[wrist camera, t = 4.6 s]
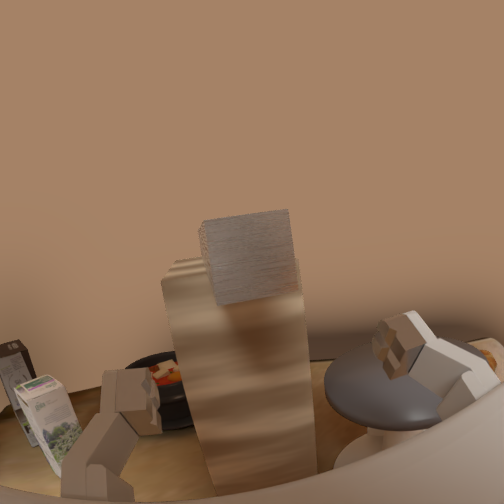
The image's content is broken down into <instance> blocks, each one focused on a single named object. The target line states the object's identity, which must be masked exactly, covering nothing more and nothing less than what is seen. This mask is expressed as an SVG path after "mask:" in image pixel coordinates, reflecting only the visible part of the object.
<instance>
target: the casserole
mask: <svg viewBox="0 0 504 504" xmlns="http://www.w3.org/2000/svg"><path fill="white" fill-rule="evenodd" d="M147 367H148V368H149V370H150V372H151V379H153V380H154V381H155V383H156V385H157V388H158V392H159V398H160V407H159V408H158V410H157V411H158V413H159V414H160V416H161V425H162V430H171V429H178V428H183V427H187V426H190V425H193V424H194V422H193V419H192V416H191V412H190V408H189V405H188V401H187V397H186V394H185V390H184V386H183V382H182V378H181V374H180V370H179V366H178V362H177V358H176V353H175V351H171V352H164V353H159V354H154V355H151V356H148V357H145V358H142V359H140V360H138V361H135V362H134V363H132V364H130V365H129V366H128V367H126V368H125V369H135V368H147Z"/></svg>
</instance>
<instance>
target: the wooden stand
mask: <svg viewBox="0 0 504 504" xmlns="http://www.w3.org/2000/svg"><path fill="white" fill-rule="evenodd" d="M295 264H296V272H297V280H298V288H299V291H296V292H291V293H286V294H281V295H275V296H270V297H265V298H259V299H254V300H248V301H243V302H237V303H231V304H225V305H220V306H217V303H216V300H215V297H214V294H213V291H212V288H211V285H210V281H209V278H208V275H207V272H206V268H205V265H204V262H203V259H202V257H196V258H189V259H183V260H177V261H175V263H174V264H173V265H172V267H171V268H170V269H169V271H168V272H167V273H166V275H165V276H164V278H163V279H162V281H161V286H162V291H163V296H164V302H165V307H166V312H167V317H168V322H169V326H170V331H171V335H172V340H173V345H174V349H175V353H176V358H177V362H178V366H179V370H180V374H181V378H182V382H183V386H184V390H185V394H186V397H187V401H188V405H189V408H190V412H191V416H192V419H193V422H194V426H195V429H196V433H197V436H198V439H199V443H200V446H201V449H202V452H203V455H204V458H205V461H206V464H207V468H208V470H209V473H210V476H211V479H212V482H213V485H214V488H215V491H216V493H217V496H225V495H232V494H238V493H243V492H249V491H254V490H259V489H264V488H268V487H273V486H277V485H281V484H285V483H289V482H293V481H297V480H300V479H304V478H307V477H311V476H314V475H317V474H318V473H317V454H316V437H315V422H314V408H313V395H312V383H311V372H310V360H309V350H308V341H307V330H306V320H305V311H304V303H303V294H302V286H301V277H300V269H299V261H298V259H296V258H295Z"/></svg>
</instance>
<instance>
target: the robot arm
mask: <svg viewBox="0 0 504 504" xmlns="http://www.w3.org/2000/svg"><path fill="white" fill-rule="evenodd" d="M377 329H378V330H379V331H378V332H377V333H376V334H375V335H374V337H373V340H372V348H373V351H374V354H375V356H376V357H377V359H379V360H381V361H383V367H382V368H383V369H384V371H385V373H386V374H387V376H388V378H389V379H390V380H393V379H396V378H398V377H401V376H404V375H407V374H408V375H409V376H410V377H411V378H413V379H414V380H416V381H417V382H419V383H420V384H422V385H423V386H425V387H426V388H428V389H429V390H431V391H432V392H434V393H435V394H436V395H438V396H439V397H441V398H442V399H443V400H442V401H441V402H440V403H439V405H438V406H437V408H436V411H437V413H438V415H439V416H440V418H441V420H442V422H440V423H438V424H436V425H434V426H432V427H431V428H429V429H427V430H425V431H423V432H421V433H419V434H417V435H415V436H413V437H411V438H409V439H407V440H405V441H403V442H401V443H399V444H396V445H394V446H392V447H390V448H387V449H385V450H383V451H380V452H378V453H376V454H373V455H371V456H368V457H366V458H363V459H361V460H358V461H356V462H353V463H350V464H347V465H345V466H342V467H339V468H336V469H333V470H330V471H327V472H324V473H321V474H317V475H314V476H311V477H307V478H304V479H300V480H297V481H293V482H289V483H285V484H281V485H277V486H273V487H268V488H264V489H259V490H254V491H249V492H243V493H238V494H232V495H225V496H218V497H211V498H202V499H193V500H181V501H166V502H135V499H134V490H133V487H132V486H131V485H130V484H128V483H127V482H125V481H124V480H122V479H121V478H120V477H119V476H120V474H121V472H122V470H123V468H124V466H125V464H126V462H127V460H128V458H129V456H130V454H131V452H132V450H133V448H134V446H135V444H136V442H137V440H138V438H139V436H143V435H153V434H162V425H161V416H160V414H159V413H158V411H157V410H158V408H159V407H160V398H159V392H158V388H157V385H156V383H155V381H154V380H153V379H151V372H150V370H149V368H148V367H147V368H135V369H122V370H109V371H104V374H103V376H102V388H101V401H100V413H96V414H95V415H94V417H93V418H92V419H91V421H90V422H89V424H88V425H87V426H86V428H85V429H84V431H83V432H82V433H81V435H80V436H79V438H78V439H77V440H76V442H75V443H74V445H73V446H72V447H71V449H70V450H69V452H68V453H67V455H66V456H65V457H64V459H63V460H62V465H61V497H55V496H49V495H43V494H37V493H32V492H27V491H22V490H17V489H13V488H9V487H5V486H1V485H0V504H504V382H502V383H501V382H500V380H499V379H498V377H497V376H496V374H495V373H494V372H493V370H492V369H491V368H490V366H489V365H488V363H487V362H486V361H485V360H484V359H482V358H480V357H478V356H476V355H474V354H472V353H470V352H468V351H465V350H463V349H461V348H459V347H457V346H455V345H453V344H451V343H449V342H447V341H445V340H443V339H441V338H439V339H437V338H436V336H435V335H434V334H433V333H432V331H431V330H430V329H429V327H428V326H427V325H426V323H425V322H424V321H423V320H422V318H421V317H420V316H419V315H418V313H417V312H415V311H414V310H413V311H409V312H406V313H404V314H399V315H396V316H393V317H389V318H386V319H383V320H381V321H380V322H379V323H378V325H377Z"/></svg>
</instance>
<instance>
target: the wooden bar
mask: <svg viewBox="0 0 504 504" xmlns="http://www.w3.org/2000/svg"><path fill="white" fill-rule="evenodd" d="M198 234H199V241H200V247H201V254H202V259H203V262H204V265H205V268H206V272H207V275H208V278H209V281H210V285H211V288H212V291H213V294H214V297H215V300H216V303H217V306H220V305H225V304H231V303H237V302H243V301H248V300H254V299H259V298H265V297H270V296H275V295H281V294H286V293H291V292H296V291H299V288H298V280H297V272H296V264H295V257H294V249H293V242H292V234H291V226H290V220H289V212H288V209H283V210H275V211H268V212H260V213H253V214H245V215H238V216H231V217H224V218H217V219H211V220H204V221H203V223H202V225H201V226H200V228H199V229H198Z"/></svg>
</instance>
